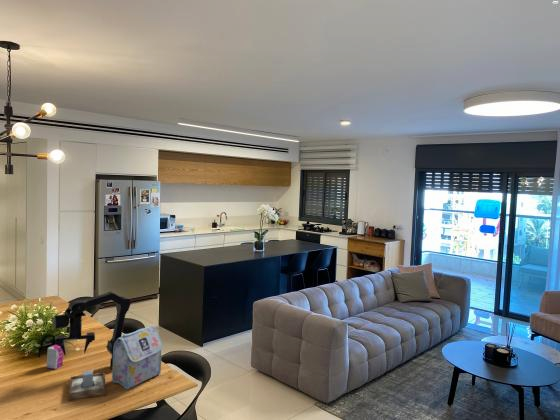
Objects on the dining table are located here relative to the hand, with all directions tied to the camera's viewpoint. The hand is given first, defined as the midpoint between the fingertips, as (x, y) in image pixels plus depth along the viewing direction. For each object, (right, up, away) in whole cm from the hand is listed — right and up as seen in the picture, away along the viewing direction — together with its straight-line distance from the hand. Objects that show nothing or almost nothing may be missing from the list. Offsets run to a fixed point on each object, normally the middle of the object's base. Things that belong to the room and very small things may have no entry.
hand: (74, 354), depth 217 cm
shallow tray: (+11, -14, -10) cm, 21 cm away
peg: (+11, -14, -10) cm, 20 cm away
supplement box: (-17, -12, +12) cm, 24 cm away
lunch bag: (+32, -15, +3) cm, 35 cm away
